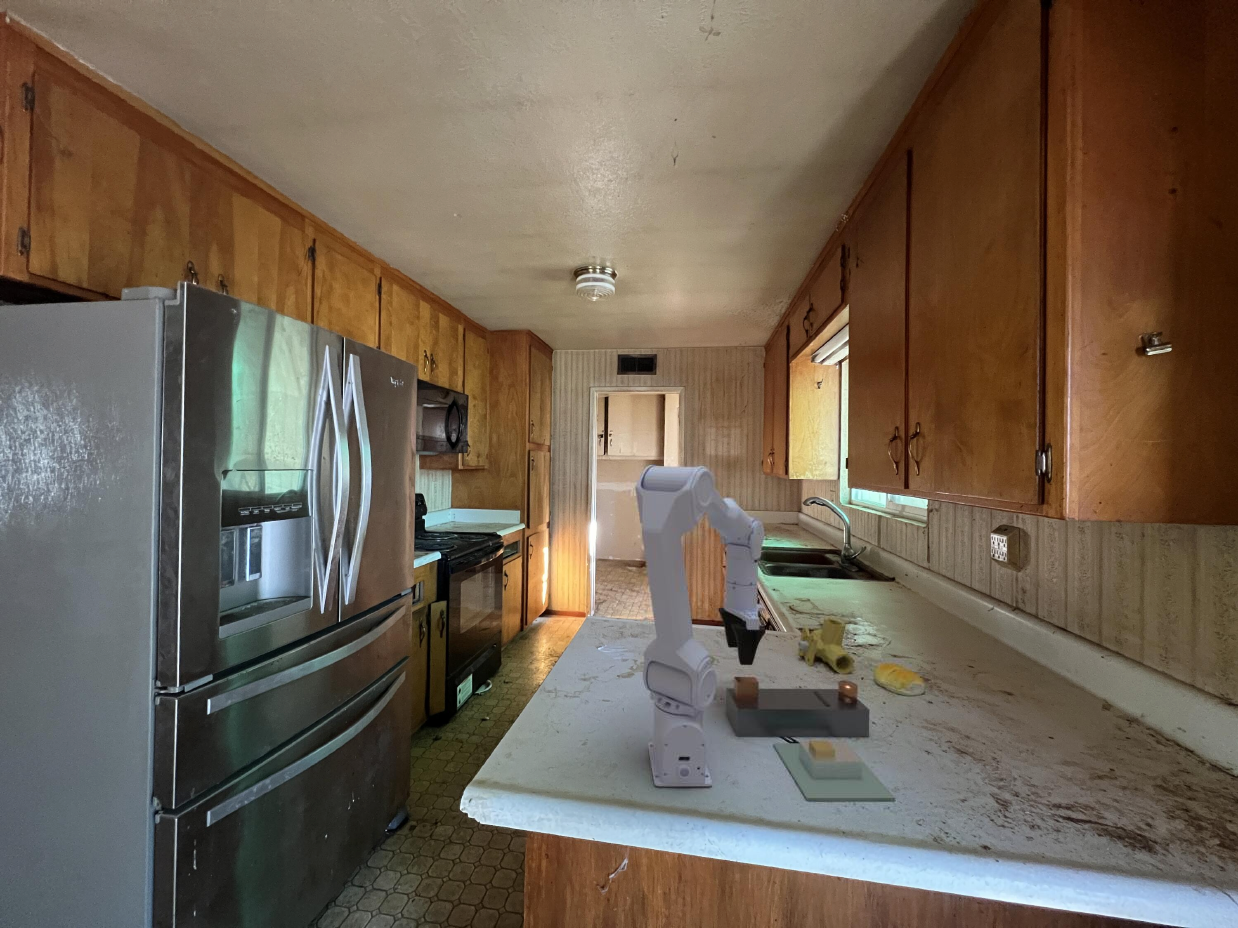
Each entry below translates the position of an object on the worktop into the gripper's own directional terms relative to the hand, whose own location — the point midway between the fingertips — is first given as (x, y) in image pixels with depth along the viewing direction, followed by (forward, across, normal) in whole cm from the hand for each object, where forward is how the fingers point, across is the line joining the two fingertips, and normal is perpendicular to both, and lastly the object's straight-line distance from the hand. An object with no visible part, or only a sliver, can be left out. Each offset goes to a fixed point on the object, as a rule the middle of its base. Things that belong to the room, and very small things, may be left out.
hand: (739, 655), depth 85 cm
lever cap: (+9, -18, -8) cm, 22 cm away
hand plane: (+9, -6, -8) cm, 14 cm away
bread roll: (+10, +8, -36) cm, 38 cm away
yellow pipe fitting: (+10, +20, -25) cm, 34 cm away
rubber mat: (+9, -18, -8) cm, 22 cm away
